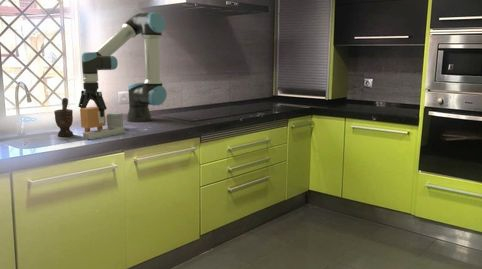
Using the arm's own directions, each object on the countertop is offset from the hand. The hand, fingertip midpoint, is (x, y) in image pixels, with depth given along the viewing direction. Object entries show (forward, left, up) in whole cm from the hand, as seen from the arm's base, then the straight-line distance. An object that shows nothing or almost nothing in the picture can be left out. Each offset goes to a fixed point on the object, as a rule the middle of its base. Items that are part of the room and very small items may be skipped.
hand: (93, 121), depth 235 cm
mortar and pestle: (+15, -2, -6) cm, 16 cm away
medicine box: (-13, +2, -6) cm, 14 cm away
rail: (+4, +14, -5) cm, 16 cm away
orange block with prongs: (0, 0, -5) cm, 5 cm away
